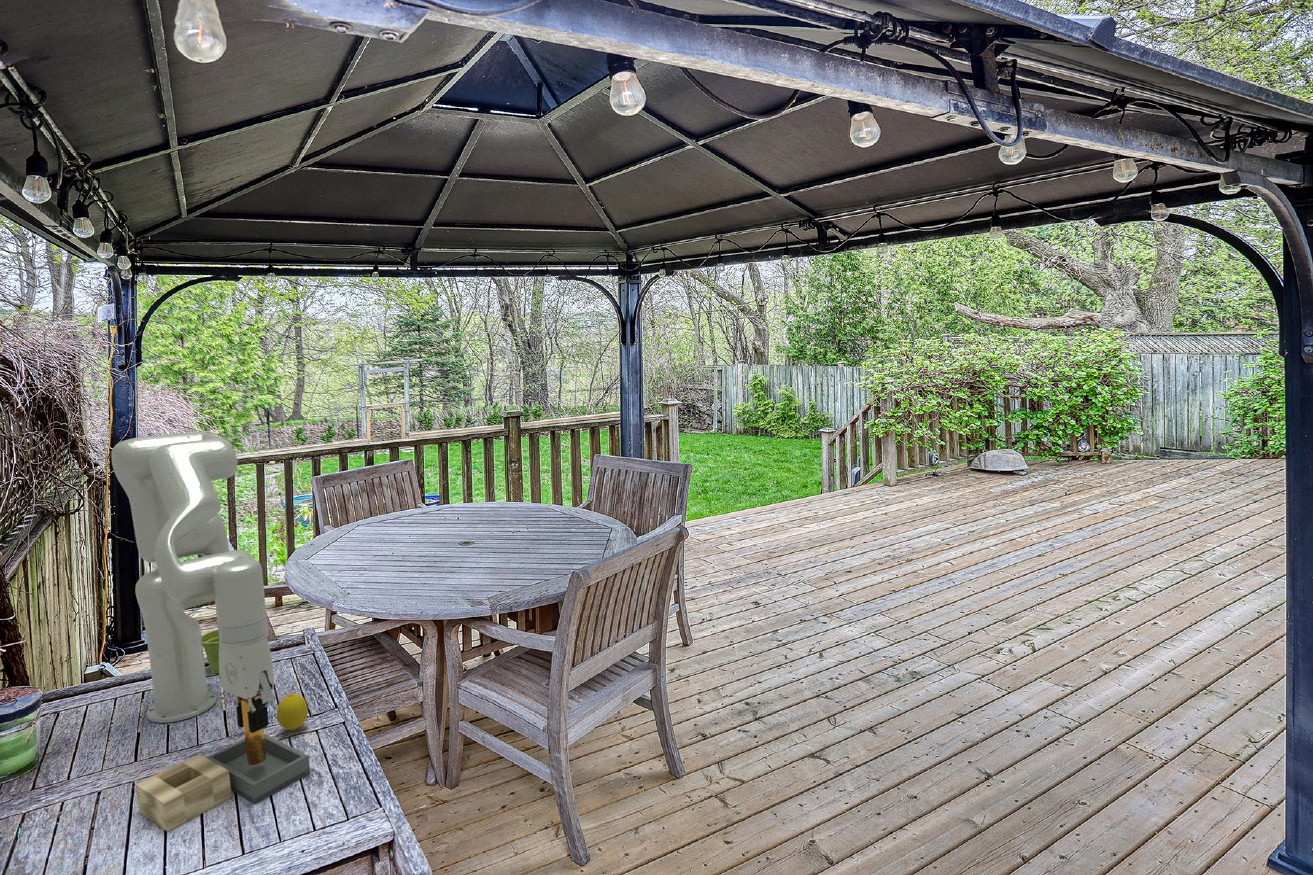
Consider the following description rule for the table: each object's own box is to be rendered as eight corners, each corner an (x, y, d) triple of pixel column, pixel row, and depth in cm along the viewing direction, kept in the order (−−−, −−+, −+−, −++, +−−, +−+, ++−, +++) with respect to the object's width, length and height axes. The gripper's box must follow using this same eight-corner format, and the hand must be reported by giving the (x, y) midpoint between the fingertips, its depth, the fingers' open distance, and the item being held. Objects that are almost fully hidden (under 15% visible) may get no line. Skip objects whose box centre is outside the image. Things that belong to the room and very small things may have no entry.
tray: (206, 775, 127) (204, 757, 127) (261, 748, 136) (259, 731, 135) (255, 804, 119) (253, 785, 119) (310, 773, 128) (308, 755, 127)
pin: (244, 761, 127) (237, 699, 125) (260, 753, 129) (254, 692, 128) (253, 766, 125) (246, 703, 123) (269, 758, 128) (263, 696, 126)
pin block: (138, 811, 118) (135, 783, 117) (202, 779, 126) (199, 753, 126) (167, 831, 113) (164, 803, 112) (231, 797, 121) (228, 770, 120)
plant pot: (227, 678, 165) (223, 643, 164) (193, 675, 167) (189, 641, 166) (256, 660, 174) (253, 627, 173) (223, 658, 176) (219, 625, 175)
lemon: (296, 739, 139) (293, 701, 138) (272, 736, 140) (268, 699, 139) (315, 724, 144) (311, 687, 143) (291, 721, 145) (288, 685, 144)
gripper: (197, 628, 125) (208, 724, 127) (247, 647, 116) (257, 749, 119) (240, 614, 131) (249, 705, 134) (290, 631, 123) (299, 728, 125)
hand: (253, 725), depth 126 cm, fingers closed on pin, 3 cm apart
